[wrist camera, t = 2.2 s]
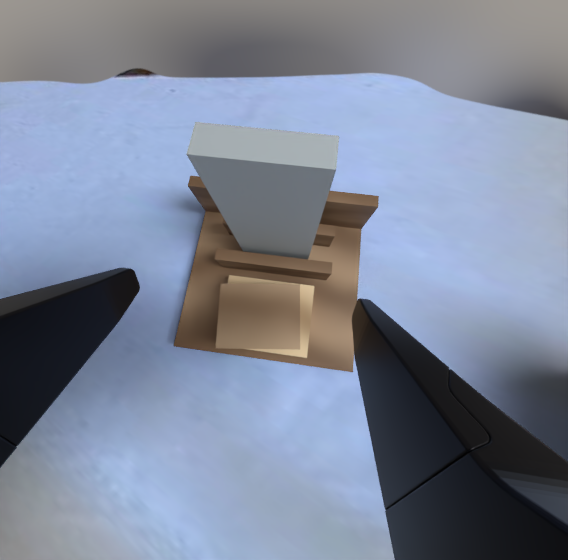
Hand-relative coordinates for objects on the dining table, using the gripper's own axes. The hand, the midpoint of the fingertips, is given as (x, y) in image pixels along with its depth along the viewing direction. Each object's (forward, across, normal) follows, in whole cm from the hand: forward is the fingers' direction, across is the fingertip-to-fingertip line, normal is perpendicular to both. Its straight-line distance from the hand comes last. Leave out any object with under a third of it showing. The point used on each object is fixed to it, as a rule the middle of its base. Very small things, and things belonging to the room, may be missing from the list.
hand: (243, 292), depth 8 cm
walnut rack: (+11, 0, +7) cm, 13 cm away
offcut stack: (+8, 0, +8) cm, 11 cm away
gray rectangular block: (+12, 0, +4) cm, 13 cm away
